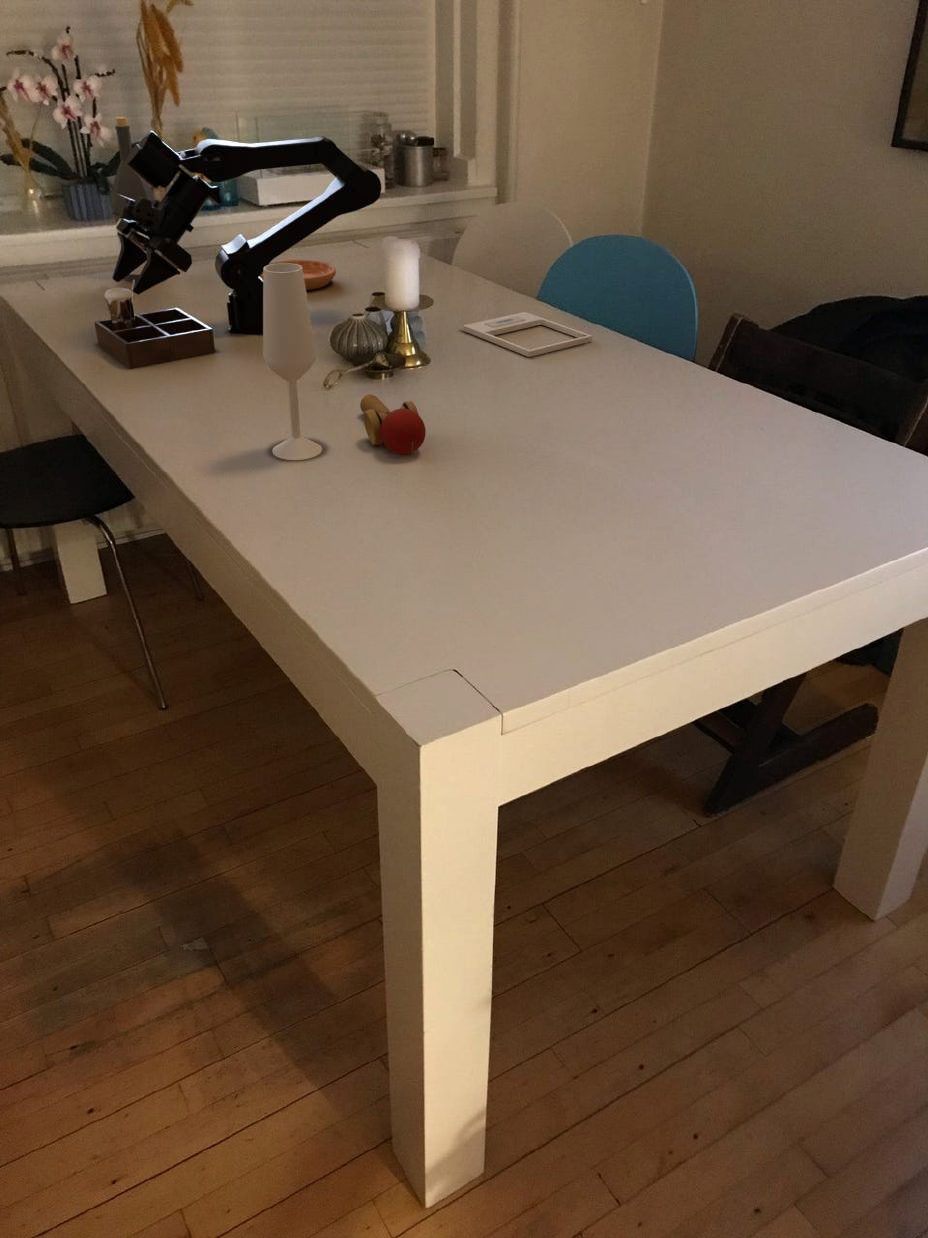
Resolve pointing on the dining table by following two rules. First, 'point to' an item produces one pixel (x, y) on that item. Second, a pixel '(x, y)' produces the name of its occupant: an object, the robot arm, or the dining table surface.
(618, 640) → the dining table surface
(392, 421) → the kendama
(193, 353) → the organiser
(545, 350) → the photo frame
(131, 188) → the wine bottle
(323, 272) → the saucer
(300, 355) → the champagne flute
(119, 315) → the milkshake
